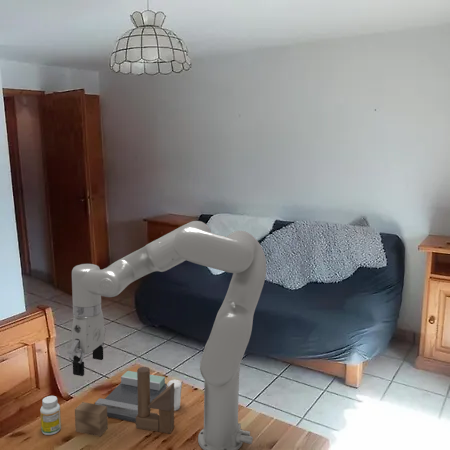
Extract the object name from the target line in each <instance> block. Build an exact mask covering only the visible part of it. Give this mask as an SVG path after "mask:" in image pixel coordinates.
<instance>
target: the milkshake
mask: <svg viewBox="0 0 450 450" xmlns="http://www.w3.org/2000/svg"><path fill="white" fill-rule="evenodd" d="M183 382H184V381H183V380H182V381H180V380H179V379H170V380H169V381H168V382H167V383H166V384H167V388H168V387H169V386H170V385H171V384H173V383H174V412H175V411H176V412H177V411H178V410H180V408H181V397H182V386H183Z"/></svg>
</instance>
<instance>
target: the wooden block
mask: <svg viewBox="0 0 450 450" xmlns="http://www.w3.org/2000/svg"><path fill="white" fill-rule="evenodd" d="M136 370H137V371H136V372H137V388H138V415H137V416H136V422H135V428H136V429H140V430H146V431H154V432H160V433H163V434H171V433H172V432H173V429H174V427H175V411H174V383H173V384H171V385H170V386H169V387H167V388H166V389H165V390H164V391H163V392H162V393H161V394H159V395H158V396H157V397H156V398H155V399H153V400H152V401H151V403H150V375H151V369H150V368H149V367H148V366H141V367H138V368H137V369H136ZM151 409H153V410H154V409H155V410H158V412H157V413H156V412H151Z"/></svg>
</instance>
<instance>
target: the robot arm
mask: <svg viewBox="0 0 450 450" xmlns="http://www.w3.org/2000/svg"><path fill="white" fill-rule="evenodd" d="M185 261H188V262H190V263H193V264H196V265H200V266H204V267H207V268H211V269H215V270H219V271H222V272H226V273H231V274H232V276H231V278H230V279H231V280H230V282H229V285H228V289H227V292H226V294H225V297H224V300H223V301H222V304H221V306H220V308H219V310H218V311H217V314H216V317H215V318H214V319H215V320H214V322H213V326H212V328H211V331H210V334H209V337H208V339H207V341H206V343H205V346H204V349H203V352H202V355H201V358H200V362H199V370H200V374H201V376H202V378H203V379H204V384H203V385H204V386H203V387H204V388H203V389H204V390H203V391H204V392H203V428H202V429H201V430H200V432H199V433H198V436H197V441H198V445H199V447H200V449H202V450H239V449H240V448H241V447H242V445H243V443H245V444H250V445H252V444H253V439H254V438H253V436H251V431H249V430H243V429H242V428H241V425H242V424H241V423H239V395H240V393H239V391H240V371H241V369H240V367H241V363H242V360H243V357H244V356H245V352H246V349H247V347H248V345H249V342H250V338H251V336H252V330H253V322H254V321H253V320H254V314H255V311H256V308H257V305H258V302H259V300H260V297H261V294H262V291H263V288H264V284H265V281H266V277H267V260H266V255H265V252H264V249H263V248H262V246H261V243H260V242H259V241H258V240H257V239H256V237H255V236H253V235H252V234H251V233H250V232H247V231H246V230H245V231H244V230H236V231H234V232H231V233H230V234H228V235H227V236H223V235H220V234H216V233H214V232H212V231H211V229H210V227H209V226H208V225H207V224H206V223H205V222H203V221H201V220H193V221H189V222H188V223H186V224H183V225H181V226H179V227H178V228H176V229H173V230H172V231H170V232H168V233H166V234H164V235H162V236H161V237H159V238H157V239H154V240H153V241H151V242H149V243H147V244H146V245H145V246H143V247H141V248H139V249H137V250H135V251H133V252H131V253H129V254H127V255H125V256H124V257H122V258H119V259H118V260H116V261H114V262H113V263H111V264H110V265H108V266H107V267H105V268H103V269H100V266H99V265H97V264H93V263H81V264H77V265H75V266H74V267H73V268H72V270H71V290H72V291H71V293H72V316H73V318H72V325H71V346H70V347H69V349H68V351H67V355H68V358H69V360H70V362H71V363H72V374H73V375H74V376H77V377H79V376H80V377H84V376H85V362H84V358H85V356H86V355H90V354H91V353H92V359H93V360H97V361H103V360H104V346H105V341H106V332H107V327H106V326H105V319H104V315H103V314H104V313H103V310H102V297H105V298H114V297H117V296H118V295H119V294H121V293H122V292H123V291H124V290H125V289H126V288H127V287H128V286H129V285H130V284H132V283H133V282H135V281H137V280H139V279H141V278H142V277H145V276H147V275H149V274H151V273H154V272H161V273H163V272H166V271H168V270H171V269H172V268H174V267H175V266H178V265H181V264H182V263H184V262H185ZM78 354H79V356H78Z"/></svg>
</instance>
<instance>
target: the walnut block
mask: <svg viewBox="0 0 450 450" xmlns="http://www.w3.org/2000/svg"><path fill="white" fill-rule="evenodd" d="M74 422H75V423H74V425H75V428H74V429H75V432H77V433H82V434H87V435H90V436H95V437H101V436H102V435H103V434H104V433H105V432H106V431H107V430H108V425H109V424H108V417H107V407H106V406H101V405H96V404H95V403H91V402H90V403H89V402H85V401H82V402H81V403H80V404H79V405H78V406H76V407H75V408H74Z"/></svg>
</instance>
